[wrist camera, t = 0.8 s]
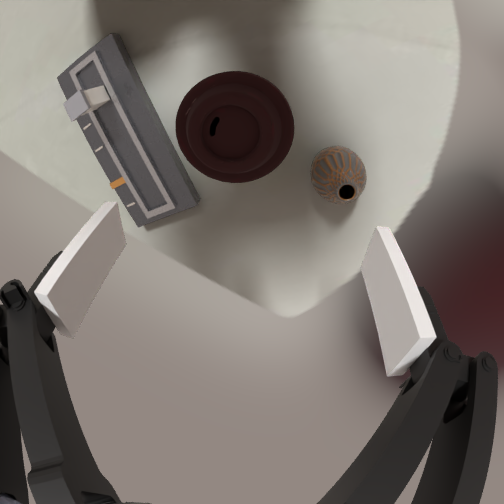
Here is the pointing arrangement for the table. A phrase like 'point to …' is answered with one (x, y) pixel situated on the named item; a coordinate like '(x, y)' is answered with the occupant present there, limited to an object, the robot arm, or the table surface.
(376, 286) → the robot arm
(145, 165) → the console
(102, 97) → the fader knob
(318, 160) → the vase
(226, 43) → the table surface
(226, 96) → the coffee cup
